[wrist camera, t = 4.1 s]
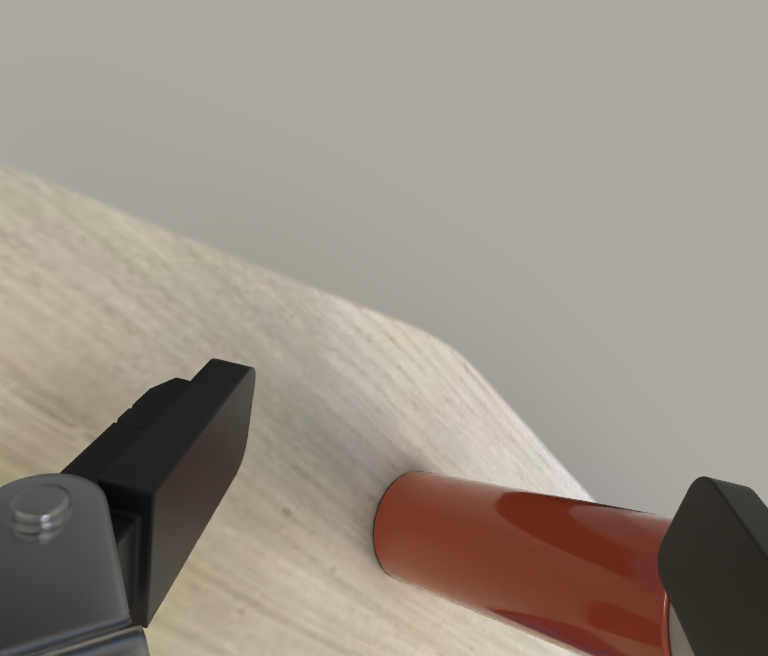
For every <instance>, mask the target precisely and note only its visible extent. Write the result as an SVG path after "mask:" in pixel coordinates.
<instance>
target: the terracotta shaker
mask: <svg viewBox="0 0 768 656" xmlns="http://www.w3.org/2000/svg"><path fill="white" fill-rule="evenodd" d="M673 518H674V517H669V516H663V515H657V514H652V513H647V512H641V511H636V510H631V509H625V508H620V507H614V506H609V505H603V504H598V503H593V502H587V501H582V500H576V499H571V498H565V497H560V496H555V495H549V494H544V493H538V492H533V491H527V490H522V489H516V488H511V487H506V486H500V485H495V484H489V483H484V482H478V481H473V480H468V479H462V478H457V477H451V476H446V475H440V474H435V473H429V472H424V471H414V472H410V473H407V474H405V475H403V476H402V477H400V478H399V479H397V480H396V481H395V482H394V483H393V484H392V485H391V486H390V488H389V489H388V490H387V492H386V493H385V495H384V497H383V499H382V501H381V503H380V505H379V508H378V511H377V514H376V519H375V525H374V545H375V550H376V554H377V557H378V560H379V562H380V564H381V565H382V567H383V569H384V570H385V571H386V572H387V573H388V574H389V575H390V576H391V577H392V578H394V579H396V580H398V581H401V582H403V583H406V584H408V585H411V586H413V587H415V588H418V589H420V590H423V591H425V592H428V593H430V594H432V595H435V596H437V597H440V598H442V599H445V600H447V601H449V602H452V603H454V604H457V605H459V606H462V607H464V608H466V609H469V610H471V611H474V612H476V613H479V614H481V615H483V616H486V617H488V618H491V619H493V620H496V621H498V622H500V623H503V624H505V625H508V626H510V627H513V628H515V629H517V630H520V631H522V632H525V633H527V634H530V635H532V636H534V637H537V638H539V639H542V640H544V641H547V642H549V643H551V644H554V645H556V646H559V647H561V648H564V649H566V650H568V651H571V652H573V653H576V654H578V655H581V656H694V653H693V651H692V649H691V647H690V645H689V642H688V640H687V638H686V636H685V633H684V631H683V629H682V627H681V625H680V622H679V620H678V618H677V616H676V613H675V611H674V609H673V607H672V605H671V602H670V600H669V598H668V596H667V593H666V591H665V589H664V587H663V585H662V582H661V580H660V577H659V573H658V565H657V560H658V551H659V547H660V544H661V542H662V539H663V538H664V536H665V534H666V532H667V530H668V528H669V526H670V524H671V522H672V520H673Z"/></svg>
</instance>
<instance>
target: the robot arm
mask: <svg viewBox="0 0 768 656" xmlns="http://www.w3.org/2000/svg"><path fill="white" fill-rule="evenodd" d="M254 386H255V369H254V368H253V367H249V366H245V365H240V364H236V363H232V362H228V361H224V360H220V359H215V358H213V359H211V360H210V361H209V362H208V363H207V364H206V365H205V366H204V367H203V368H202V369H201V370H200V371H199V372H198V373H197V375H196V376H195V377H194V378H193V379H192V380H191V381H188V380H184V379H180V378H174V379H172V380H169V381H167V382H165V383H162V384H160V385H157V386H155V387H153V388H150V389H149V390H148V391H147V392H146V393H145V394H144V395H143V396H142V397H141V398H139V399H138V400H137V401H136V402H135V403H134V404H133V406H132V408H131V409H130V408H129V409H128V410H127V411H126V412H125V413H123V414H122V415H121V416H120V417H119V418H118V421H117V423H115V422H114V423H113V424H112V425H111V426H110V427H108V428H107V429H106V430H105V431H104V432H103V433H102V434H101V435H100V436H99V437H98V438H97V439H96V440H95V441H94V442H92V443H91V444H90V445H89V446H88V447H87V448H86V449H85V450H84V451H83V452H82V453H81V454H80V455H79V456H77V457H76V458H75V459H74V460H73V461H72V462H71V463H70V464H69V465H68V466H67V467H66V468H65V469H64V470H63V471H61V472H60V473H52V474H41V475H35V476H30V477H26V478H22V479H19V480H16V481H13V482H11V483H8V484H6V485H4V486H2V487H0V656H150V654H149V650H148V645H147V641H146V637H145V634H144V630H143V628H142V627H144V628H147V627H148V625H149V624H150V622H151V620H152V618H153V617H154V615H155V613H156V612H157V610H158V608H159V606H160V605H161V603H162V601H163V599H164V598H165V596H166V594H167V593H168V591H169V589H170V587H171V586H172V584H173V582H174V581H175V579H176V577H177V575H178V574H179V572H180V570H181V569H182V567H183V565H184V563H185V562H186V560H187V558H188V556H189V555H190V553H191V551H192V550H193V548H194V546H195V544H196V543H197V541H198V539H199V538H200V536H201V534H202V532H203V531H204V529H205V527H206V526H207V524H208V522H209V520H210V519H211V517H212V515H213V514H214V512H215V510H216V508H217V507H218V505H219V503H220V501H221V500H222V498H223V496H224V495H225V493H226V491H227V489H228V488H229V486H230V484H231V483H232V481H233V479H234V477H235V476H236V474H237V472H238V470H239V467H240V465H241V462H242V459H243V456H244V452H245V448H246V444H247V438H248V430H249V423H250V415H251V408H252V401H253V393H254ZM657 565H658V573H659V577H660V580H661V582H662V585H663V587H664V589H665V591H666V593H667V596H668V598H669V600H670V602H671V605H672V607H673V609H674V611H675V613H676V616H677V618H678V620H679V622H680V625H681V627H682V629H683V631H684V633H685V636H686V638H687V640H688V642H689V645H690V647H691V649H692V651H693V653H694V656H768V508H767V507H766V505H765V504H764V503H763V502H762V501H761V499H760V498H759V497H758V495H757V494H756V493H755V492H754V491H753V490H752V489H751V488H749V487H746V486H742V485H738V484H734V483H730V482H726V481H721V480H717V479H713V478H709V477H699V478H697V479H696V480H695V481H694V482H693V483H692V484H691V486H690V488H689V489H688V491H687V494H686V495H685V497H684V499H683V501H682V503H681V505H680V507H679V509H678V511H677V513H676V515H675V517H674V518H673V520H672V522H671V524H670V526H669V528H668V530H667V532H666V534H665V536H664V538H663V539H662V542H661V544H660V547H659V551H658V560H657Z"/></svg>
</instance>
